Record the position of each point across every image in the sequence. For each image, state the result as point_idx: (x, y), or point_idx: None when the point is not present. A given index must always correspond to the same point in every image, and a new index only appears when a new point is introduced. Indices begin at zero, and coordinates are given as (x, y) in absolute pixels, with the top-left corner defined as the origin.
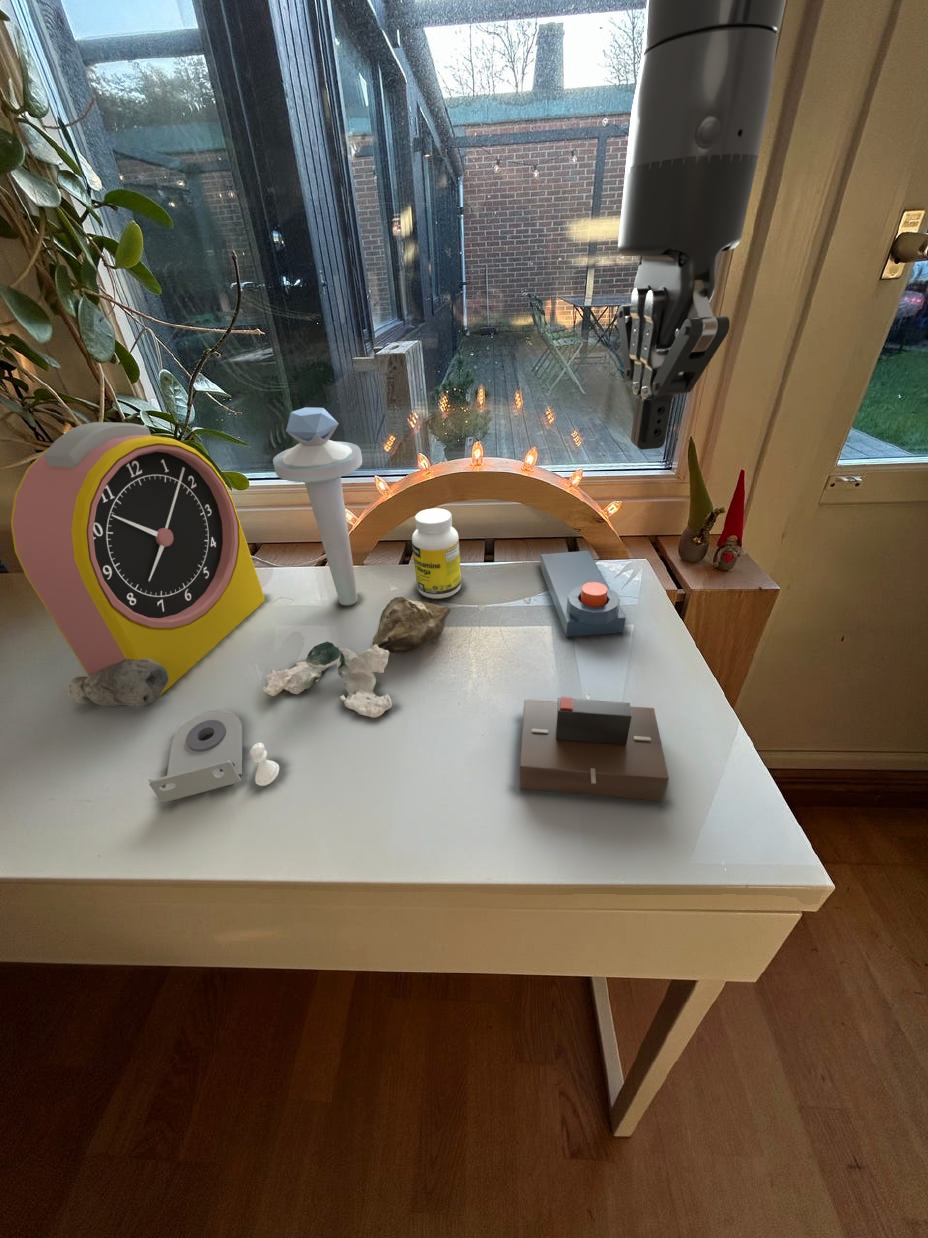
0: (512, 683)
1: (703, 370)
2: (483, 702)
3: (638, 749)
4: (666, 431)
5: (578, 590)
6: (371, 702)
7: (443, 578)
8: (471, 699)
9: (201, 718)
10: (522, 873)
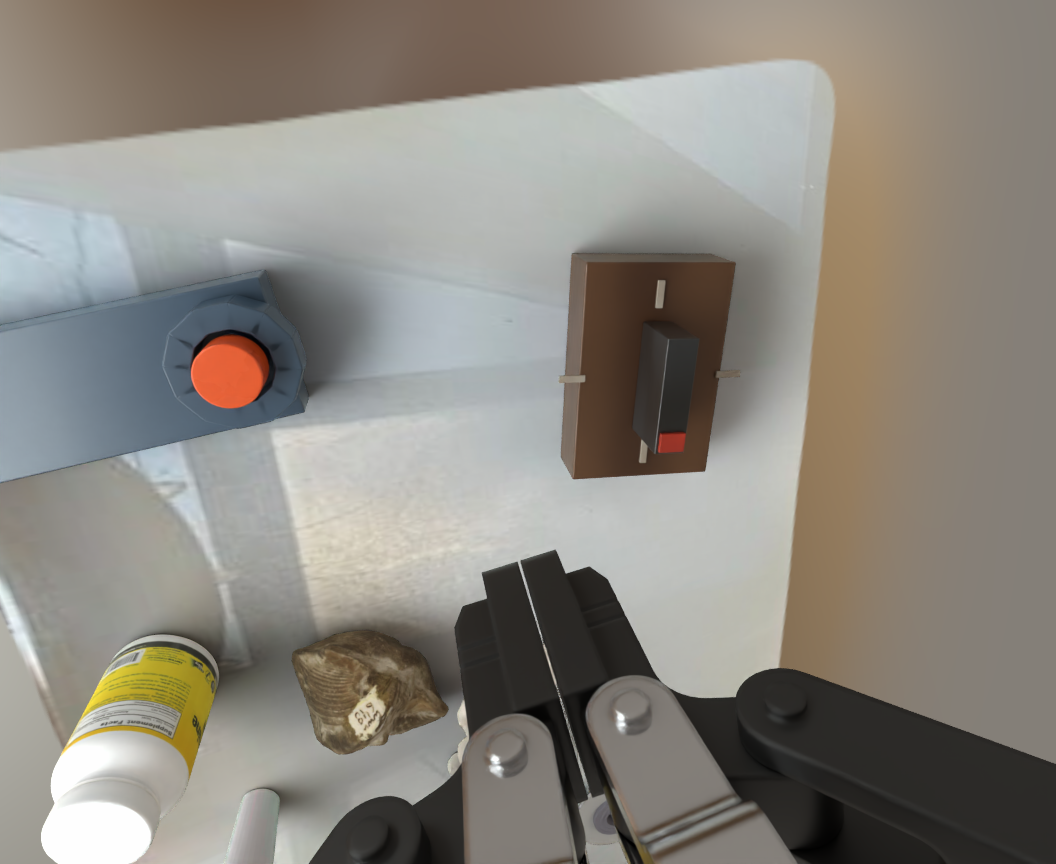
0: (470, 484)
1: (973, 736)
2: (521, 521)
3: (680, 302)
4: (565, 577)
5: (203, 404)
6: None
7: (198, 688)
8: (515, 540)
9: (589, 835)
10: (795, 434)
